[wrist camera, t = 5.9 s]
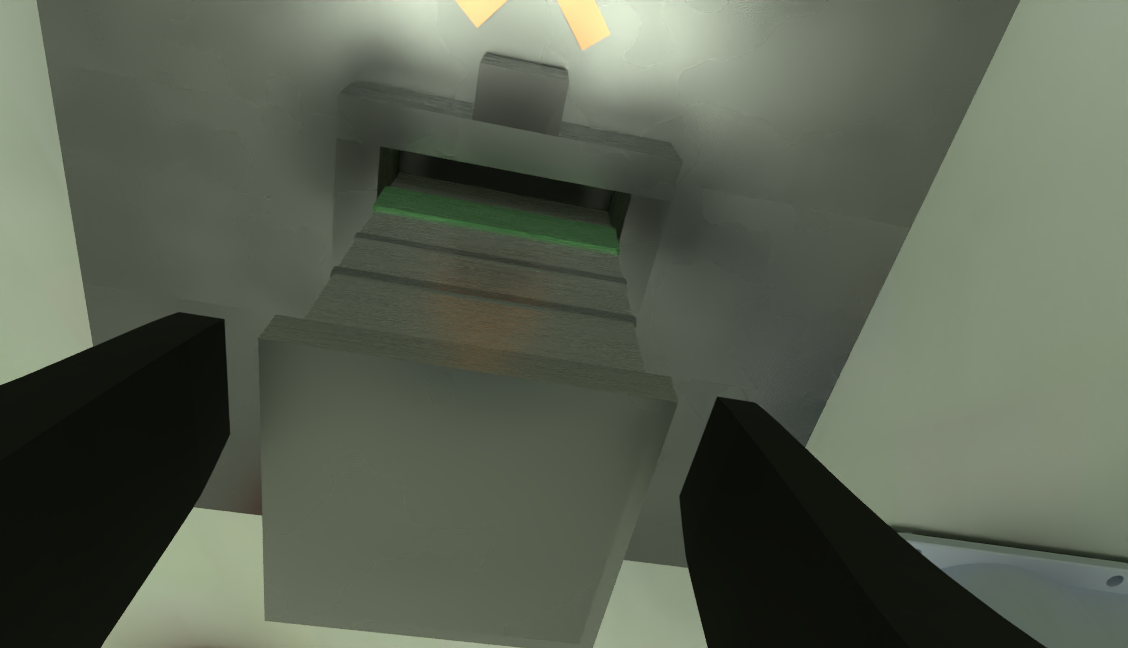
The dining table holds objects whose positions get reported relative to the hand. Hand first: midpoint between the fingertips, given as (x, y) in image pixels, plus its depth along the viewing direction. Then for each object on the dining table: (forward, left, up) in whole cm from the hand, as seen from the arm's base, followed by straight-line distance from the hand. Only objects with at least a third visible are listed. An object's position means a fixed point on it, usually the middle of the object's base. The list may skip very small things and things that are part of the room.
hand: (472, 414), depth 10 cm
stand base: (0, 0, -7) cm, 7 cm away
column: (0, 0, -4) cm, 4 cm away
